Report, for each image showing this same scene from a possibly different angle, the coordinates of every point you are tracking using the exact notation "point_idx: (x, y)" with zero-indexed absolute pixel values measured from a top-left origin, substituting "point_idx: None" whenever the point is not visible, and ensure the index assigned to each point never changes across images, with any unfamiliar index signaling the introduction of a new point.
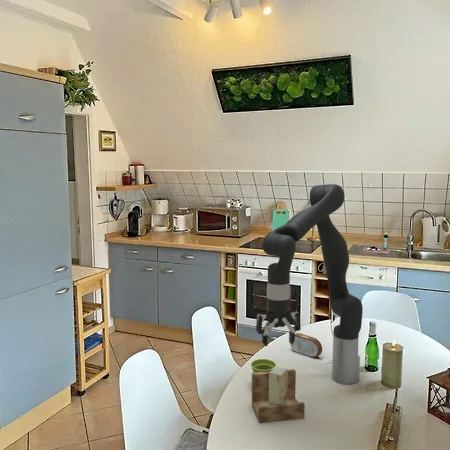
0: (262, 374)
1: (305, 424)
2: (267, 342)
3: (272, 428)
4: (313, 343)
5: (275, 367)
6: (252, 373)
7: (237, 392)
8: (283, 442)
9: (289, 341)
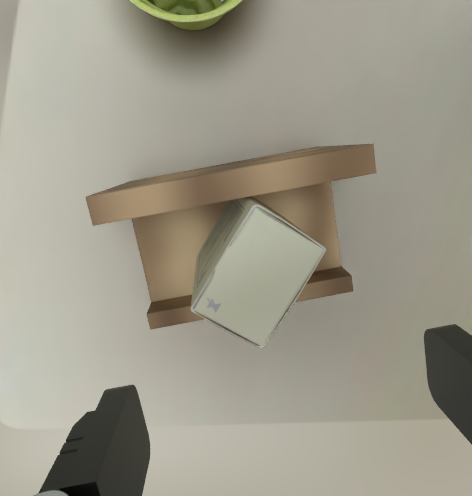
0: (157, 212)
1: (330, 310)
2: (142, 486)
3: (206, 335)
4: None
5: (241, 232)
6: (90, 205)
7: (59, 50)
8: (236, 410)
9: (431, 349)
